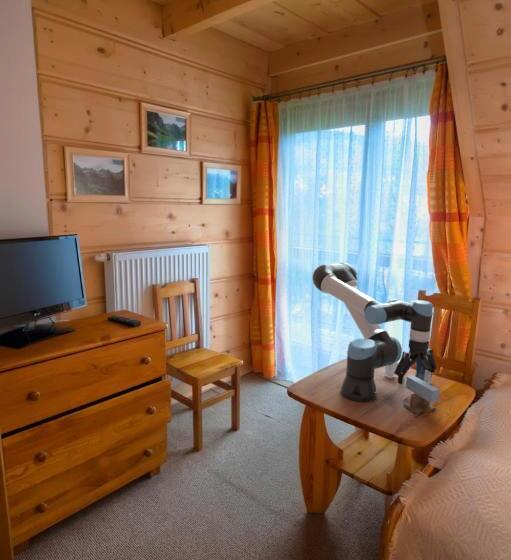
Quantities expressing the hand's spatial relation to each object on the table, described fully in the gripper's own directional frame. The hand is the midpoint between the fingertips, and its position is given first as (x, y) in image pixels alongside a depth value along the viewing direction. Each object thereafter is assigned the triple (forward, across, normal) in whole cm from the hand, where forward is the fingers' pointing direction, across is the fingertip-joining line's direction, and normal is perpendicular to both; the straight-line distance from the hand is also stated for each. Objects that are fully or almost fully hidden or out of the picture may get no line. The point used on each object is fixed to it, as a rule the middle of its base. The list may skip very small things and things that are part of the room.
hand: (413, 388), depth 176 cm
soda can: (+7, -20, -15) cm, 26 cm away
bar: (+1, 0, +4) cm, 4 cm away
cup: (+7, -10, -27) cm, 30 cm away
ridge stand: (+7, 0, +4) cm, 8 cm away
